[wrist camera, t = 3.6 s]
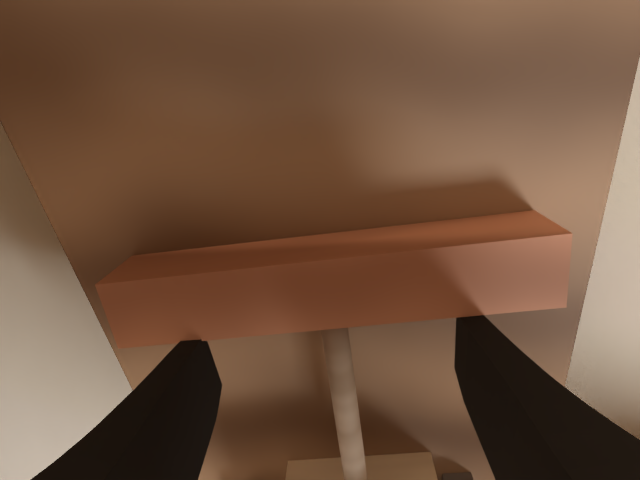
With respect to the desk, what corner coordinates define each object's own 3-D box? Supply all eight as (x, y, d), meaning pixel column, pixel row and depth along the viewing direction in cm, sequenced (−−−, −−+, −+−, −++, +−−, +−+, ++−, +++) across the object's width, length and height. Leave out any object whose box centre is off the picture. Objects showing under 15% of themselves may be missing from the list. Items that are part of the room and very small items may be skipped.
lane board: (507, 584, 24) (533, 667, 21) (245, 592, 25) (233, 671, 22) (643, -96, 9) (808, -160, 6) (-22, 8, 10) (-175, 2, 7)
